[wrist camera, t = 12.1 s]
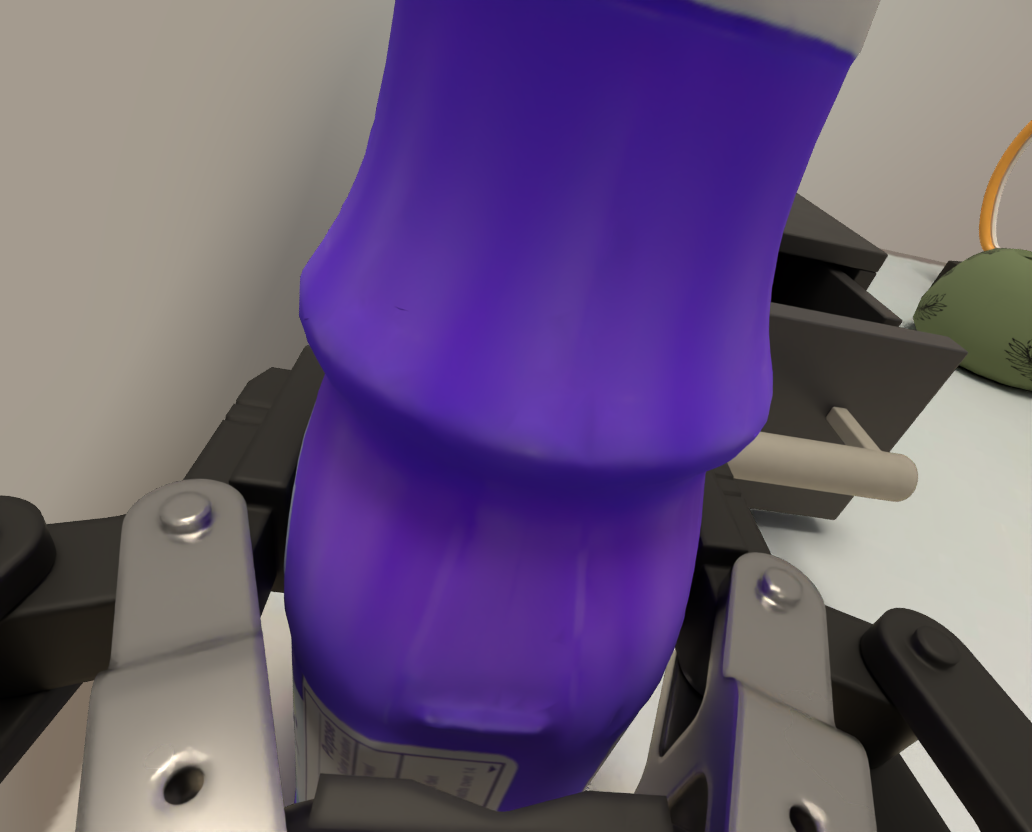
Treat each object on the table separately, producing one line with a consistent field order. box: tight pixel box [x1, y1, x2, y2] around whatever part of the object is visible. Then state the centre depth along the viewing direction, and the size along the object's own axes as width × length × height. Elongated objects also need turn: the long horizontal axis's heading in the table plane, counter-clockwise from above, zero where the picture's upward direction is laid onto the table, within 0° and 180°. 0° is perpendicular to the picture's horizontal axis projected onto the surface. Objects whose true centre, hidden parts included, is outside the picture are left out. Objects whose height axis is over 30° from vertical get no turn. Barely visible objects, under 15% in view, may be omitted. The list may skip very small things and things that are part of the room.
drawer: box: [727, 252, 968, 520], centre depth 25 cm, size 18×13×9 cm
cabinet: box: [778, 193, 888, 290], centre depth 33 cm, size 15×14×11 cm
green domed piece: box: [913, 248, 1032, 391], centre depth 47 cm, size 16×13×9 cm
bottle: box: [284, 0, 880, 812], centre depth 9 cm, size 7×6×17 cm
